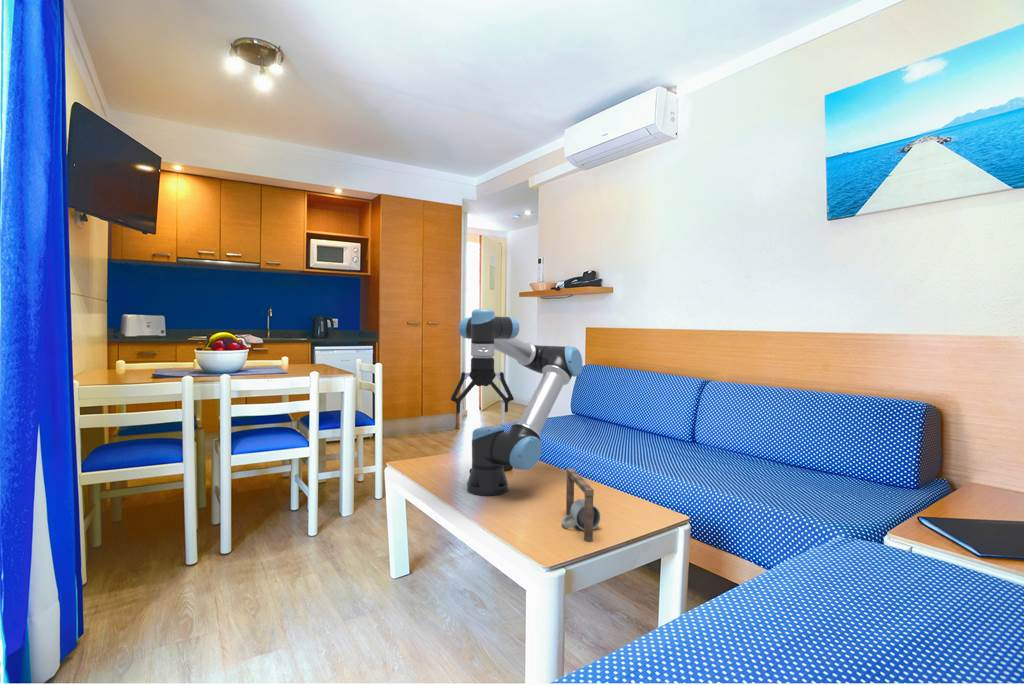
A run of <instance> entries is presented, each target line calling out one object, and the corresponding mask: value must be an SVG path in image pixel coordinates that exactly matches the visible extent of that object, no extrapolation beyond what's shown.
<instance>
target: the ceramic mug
mask: <svg viewBox="0 0 1024 685" xmlns="http://www.w3.org/2000/svg"><path fill="white" fill-rule="evenodd" d="M584 502H585V498H584V499H583V498H581V499H577V500H574V503H573V504H572V506H571V510H570V512H571V514H570V515H566V516H564V517H563V518H562V520H561V524H562V526H563V528H565V529H570V528H574V527H576V526H577V527H578V528H579V529H580V530H582V531H584ZM571 520H572V521H571ZM600 522H601V512H600V510H599V508H598V507H597V506H595V505H594V504H593V530H595V529H596V528H597V527H598V526H599V524H600Z"/></svg>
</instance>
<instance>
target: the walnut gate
mask: <svg viewBox="0 0 1024 685" xmlns="http://www.w3.org/2000/svg"><path fill="white" fill-rule="evenodd" d="M565 471H566V472H565V473H566V490H565V491H566V494H565V498H566V505H565V506H566V510H565V512H566V516H568V515H570V514H571V512H570V510H571V506H572V504H573V503H574V502H575V484H576V486H577V487H578V488H579V489H580V490H581V491H582V492H583V494H584V500H585V502H584V530H583V531H584V532H583V540H584V541H585V542H588V543H589V542H593V540H594V538H593V536H594V529H593V505H594V495H595V493H594V492H595V491H594V488H593V487H591V485H590V484H589V483H587V481H586V480H585V479H584V478H583V477H582V476H581V475H580V474H579V473H578V472H577V471H576V470H575V469H574V468H573V467H571V468H570V467H566V470H565Z"/></svg>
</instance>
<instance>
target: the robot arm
mask: <svg viewBox="0 0 1024 685" xmlns="http://www.w3.org/2000/svg"><path fill="white" fill-rule="evenodd" d="M458 332H459V335H460V336H461V337H462V338H463V339H468V340H471V342H470V356H471V358H470V372H464V371H462V372H461V374H460V379H459V381H458V383H457V385H456V387H455V389H454V390H453V393H452V395H451V397H450V401H452V402H454V403H455V406H456V407H455V408H456V409H455V410H456V413H457V414H459V424H461V425H462V424H463V399H464V398H465V397H466V396H467V394H468V393H469V392H470V391H471V390H472V389H473V388H474V387H475V386H477V387H482V386H484V387H488V386H491V387H492V388H493V390H494V391H495V392H496V394H498V395H499V398H501V399H502V400H503V401H501V410H500V411H501V412H500V414H501V418H500V422H501V424H505V422H506V421H505V418H506V414H505V413H508V411H509V403H510V402H511V401H512V402H513V401H514V399H515V398H514V396H513V394H512V392H511V390H510V388H509V385H508V383H507V381H506V379H505V373H504V372H503V371H499V372H496V371H495V359H494V356H495V350H496V351H497V352H500V353H502V354H504V355H506V356H508V357H510V358H511V359H513V360H516V361H517V363H518V364H519V365H520V366H523V367H524V368H526V369H528V370H531V371H533V372H536V373H539V374H542V377H541V379H540V381H539V383H538V385H537V387H536V389H535V390H534V392H533V394H532V396H531V397H530V400H529V401H528V404H527V405H526V407H525V410H523V411H524V412H523V413H522V415H521V416H520V418H519V420H518V422H517V423H513V424H512V425H511V426H510V428H509V430H508V431H505V429H504V428H505V427H504V426H502V425H491V426H483V427H478V428H475V429H474V430H473V431H472V436H471V470H470V474H469V475H468V476H469V477H468V479H467V483H466V489H467V492H468V493H470V494H472V495H476V496H477V495H478V496H497V495H502V494H504V493H506V492H507V491H508V490H509V482H508V480H507V479H508V478H507V476H506V473H505V470H504V467H510V468H512V469H516V470H530V469H532V468H534V467H535V466H536V465H537V464H538V462H539V460H540V459H541V456H542V453H543V452H542V450H543V445H542V441H541V439H542V438H541V436H540V434H541V433H540V432H541V431H542V430H543V427H544V425H545V423H546V421H547V419H548V417H549V415H550V413H551V411H552V408H553V407H554V404H555V403H556V400H558V397H559V395H560V392H561V391H562V388H563V386H565V385H568V384H569V383H570V382H571V379H572V377H575V378H576V377H579V376H580V374H581V373H582V370H583V357H582V353H581V351H580V349H578V348H577V346H576V347H575V346H569V345H565V346H560V345H539V344H537V345H535V344H533V343H531V342H524V341H522V340H520V339H519V338H517V336H518V335H519V332H520V323H519V321H518V319H516V318H515V317H510V316H496V315H495V310H494V309H490V308H489V309H483V308H480V309H474V310H472V311H471V316H470V317H465V318H463V319H461V320H460V322H459V325H458ZM468 377H470V379H471V381H470V382H469V384H467V387H465V389H463V391H462V392H461V394H460V395H459V396H458V397H457V395H458V394H459V391H460V390H461V388H462V386H463V384H464V382H465V380H467V379H468ZM496 377H497V379H499V381H500V383H501V385H502V387H503V389H504V391H505V393H506V395H507V396H506V395H505V394H504V393H503V392H502V391H501V389H500V388H499V387H498V386H497V384H495V382H494V381H493V380H494V379H495V378H496Z"/></svg>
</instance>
